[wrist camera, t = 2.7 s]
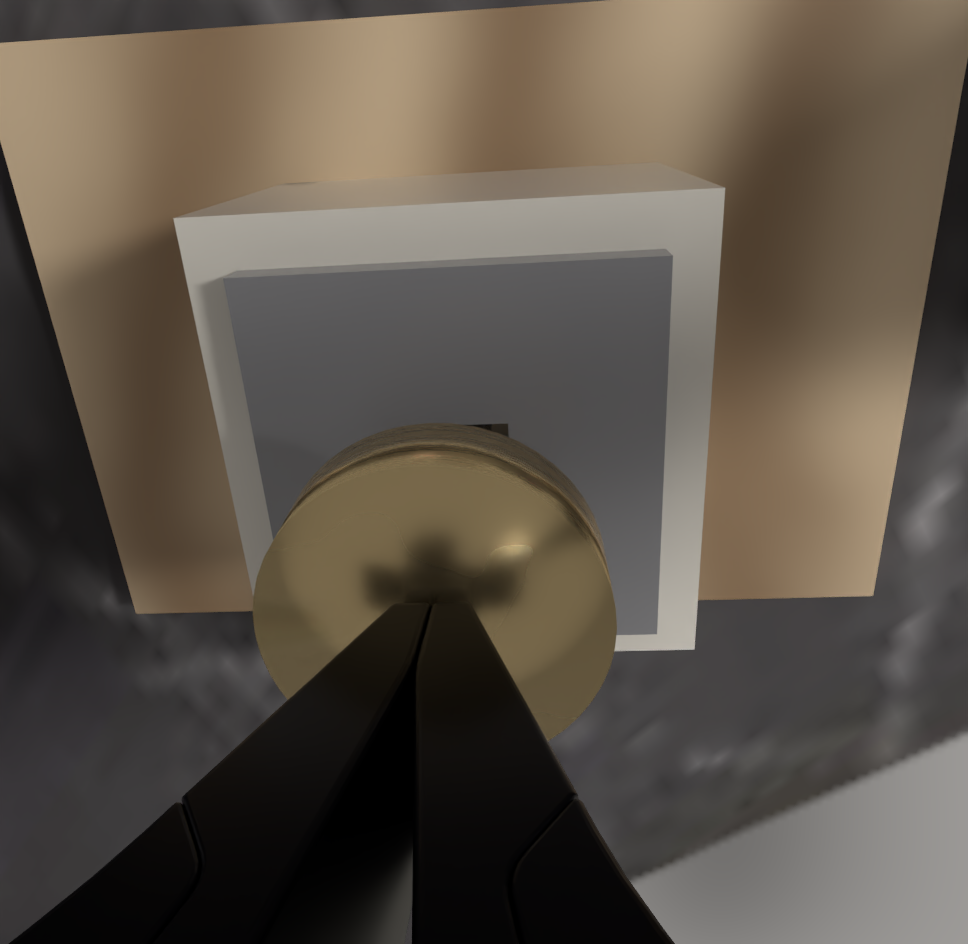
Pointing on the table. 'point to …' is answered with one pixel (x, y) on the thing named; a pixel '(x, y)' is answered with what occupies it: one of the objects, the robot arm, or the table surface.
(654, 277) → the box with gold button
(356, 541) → the gold push button
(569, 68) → the serving board
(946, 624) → the table surface
